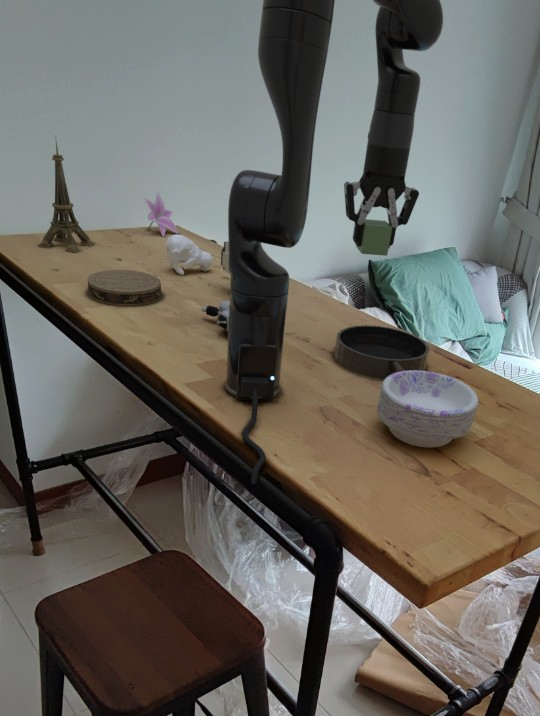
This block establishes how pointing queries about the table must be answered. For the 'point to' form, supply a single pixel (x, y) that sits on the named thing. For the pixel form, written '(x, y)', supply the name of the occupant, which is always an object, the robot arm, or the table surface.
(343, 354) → the pan
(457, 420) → the paper bowls
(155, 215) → the lily
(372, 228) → the cube
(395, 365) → the pan handle
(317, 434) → the table surface
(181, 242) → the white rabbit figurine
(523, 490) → the table surface
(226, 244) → the pneumatic valve
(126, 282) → the wood log slice
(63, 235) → the eiffel tower
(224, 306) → the robot toy
